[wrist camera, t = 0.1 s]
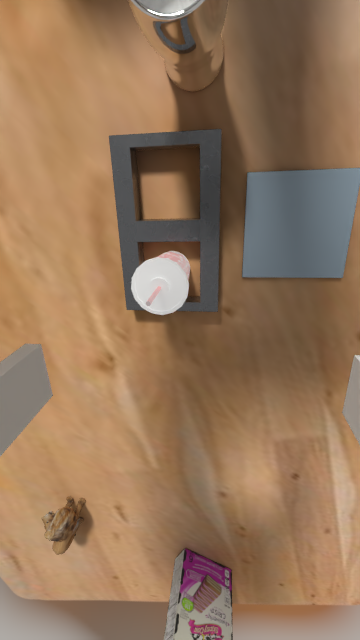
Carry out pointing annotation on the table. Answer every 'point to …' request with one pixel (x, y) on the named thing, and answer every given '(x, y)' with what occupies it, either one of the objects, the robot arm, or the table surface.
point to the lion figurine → (63, 525)
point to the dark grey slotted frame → (169, 229)
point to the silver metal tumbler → (184, 37)
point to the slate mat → (299, 222)
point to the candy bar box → (199, 600)
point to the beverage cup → (162, 283)
